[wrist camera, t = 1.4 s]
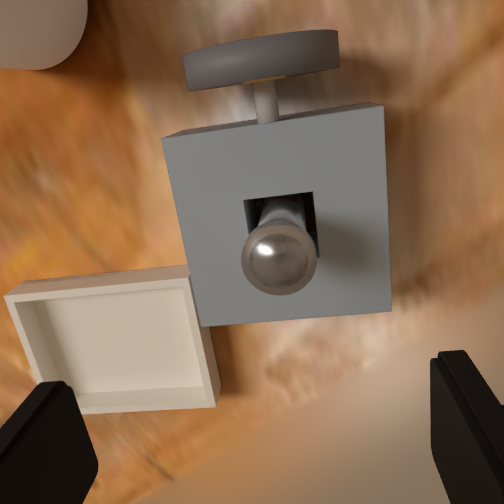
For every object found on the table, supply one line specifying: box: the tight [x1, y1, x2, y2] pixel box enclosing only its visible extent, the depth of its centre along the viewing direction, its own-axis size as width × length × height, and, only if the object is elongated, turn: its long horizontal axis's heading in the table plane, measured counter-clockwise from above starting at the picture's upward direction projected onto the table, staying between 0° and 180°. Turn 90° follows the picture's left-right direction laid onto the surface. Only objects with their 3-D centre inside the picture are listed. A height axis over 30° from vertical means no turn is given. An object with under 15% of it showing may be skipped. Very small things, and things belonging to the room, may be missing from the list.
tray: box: [4, 265, 221, 414], centre depth 34 cm, size 14×11×2 cm
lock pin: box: [241, 193, 317, 296], centre depth 25 cm, size 4×4×10 cm
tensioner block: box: [161, 30, 392, 327], centre depth 25 cm, size 12×16×8 cm
